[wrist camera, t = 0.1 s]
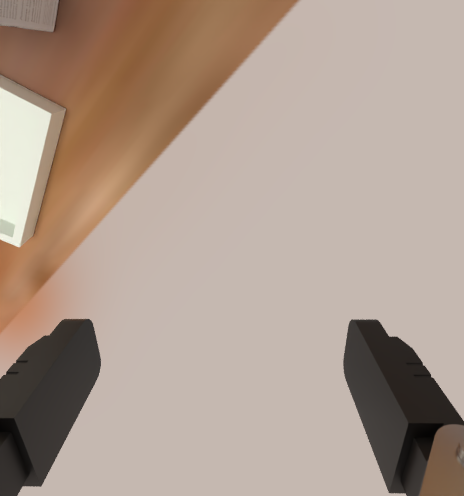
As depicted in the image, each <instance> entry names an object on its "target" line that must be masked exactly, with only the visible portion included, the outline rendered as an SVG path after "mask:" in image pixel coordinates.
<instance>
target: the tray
mask: <svg viewBox="0 0 464 496" xmlns="http://www.w3.org/2000/svg"><path fill="white" fill-rule="evenodd" d="M65 112H66V108H64V107H62V106H60V105H58V104H56V103H54V102H52V101H50V100H48V99H46V98H44V97H43V96H41V95H39V94H37V93H35V92H33V91H31V90H29V89H27V88H25V87H23V86H21V85H20V84H18V83H16V82H14V81H12V80H10V79H8V78H6V77H4V76H2V75H0V239H1V240H3V241H5V242H8V243H10V244H13V245H15V246H17V247H21V246H22V245H23V244H24V243H25V242H26V241H27V240H29V239H30V238H31V237H32V236H33V235H34V231H35V227H36V223H37V220H38V216H39V212H40V208H41V204H42V200H43V197H44V193H45V189H46V185H47V181H48V177H49V173H50V170H51V166H52V162H53V158H54V154H55V150H56V146H57V143H58V139H59V135H60V131H61V127H62V123H63V119H64V116H65Z"/></svg>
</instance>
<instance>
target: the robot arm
mask: <svg viewBox="0 0 464 496" xmlns="http://www.w3.org/2000/svg"><path fill="white" fill-rule="evenodd" d="M100 366H101V359H100V353H99V349H98V344H97V340H96V335H95V331H94V327H93V323H92V321H91V320H90V319H64V320H62V321H61V322H60V323H59V324H58V326H57V327H56V328H55V329H54V331H53V332H52V333H51V334H50V335H49V336H44V337H42V338H41V339H39V340H38V341H36V342H35V343H33V344H32V345H30V346H29V347H28V348H27V349H26V350H25V351H24V352H23V354H22V355H21V356H20V357H19V358H18V359H17V360H16V363H14V364H13V365H12V366H11V367H10V368H9V370H8V371H7V372H6V375H3V376H2V378H1V379H0V496H17V495H18V493H19V492H20V490H21V488H22V486H42V484H43V482H44V480H45V478H46V476H47V474H48V472H49V470H50V469H51V467H52V465H53V463H54V461H55V459H56V457H57V455H58V453H59V451H60V449H61V447H62V445H63V444H64V441H65V440H66V438H67V436H68V434H69V432H70V430H71V428H72V426H73V424H74V422H75V421H76V419H77V417H78V414H79V413H80V411H81V409H82V407H83V405H84V403H85V401H86V399H87V398H88V395H89V394H90V392H91V390H92V388H93V386H94V384H95V382H96V380H97V378H98V376H99V372H100ZM344 374H345V378H346V381H347V384H348V387H349V389H350V392H351V395H352V397H353V400H354V402H355V405H356V408H357V410H358V413H359V416H360V418H361V421H362V423H363V426H364V428H365V431H366V434H367V436H368V439H369V442H370V444H371V447H372V449H373V452H374V455H375V457H376V460H377V463H378V465H379V468H380V471H381V473H382V476H383V478H384V481H385V483H386V486H387V489H388V491H389V493H406V495H407V496H464V421H463V420H462V418H461V417H460V415H459V414H458V413H457V411H456V410H455V408H454V407H453V406H452V404H451V403H450V401H449V400H448V398H447V397H446V395H445V394H444V393H443V391H442V390H441V388H440V387H439V385H438V384H437V383H436V381H435V380H434V378H431V374H430V373H429V371H428V370H427V368H426V367H425V366H423V363H422V361H421V360H420V358H419V357H418V356H417V354H416V353H415V351H414V350H413V349H412V348H411V347H410V346H408V345H407V344H406V343H405V342H403V341H402V340H401V339H399V338H398V337H389V336H388V334H387V333H386V331H385V330H384V328H383V327H382V325H381V324H380V322H379V321H378V320H351V321H350V323H349V327H348V333H347V340H346V346H345V353H344Z"/></svg>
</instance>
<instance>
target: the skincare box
mask: <svg viewBox="0 0 464 496" xmlns="http://www.w3.org/2000/svg"><path fill="white" fill-rule="evenodd" d="M58 3H59V0H0V25H3V26H10V27H18V28H25V29H32V30H40V31H48V32H53V31H54V28H55V21H56V16H57V9H58Z"/></svg>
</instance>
